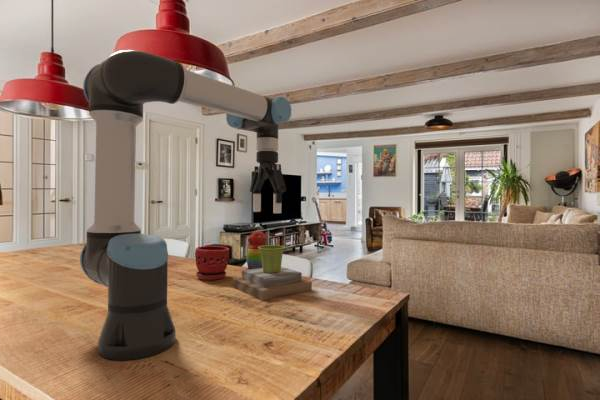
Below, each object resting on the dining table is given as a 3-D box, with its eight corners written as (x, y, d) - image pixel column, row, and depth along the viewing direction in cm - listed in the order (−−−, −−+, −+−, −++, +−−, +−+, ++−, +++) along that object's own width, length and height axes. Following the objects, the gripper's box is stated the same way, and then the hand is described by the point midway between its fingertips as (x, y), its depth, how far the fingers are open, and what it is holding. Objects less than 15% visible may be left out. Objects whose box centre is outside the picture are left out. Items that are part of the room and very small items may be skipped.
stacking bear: (251, 270, 152) (251, 229, 152) (273, 271, 149) (273, 230, 149) (240, 275, 142) (240, 231, 142) (262, 277, 139) (262, 232, 139)
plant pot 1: (211, 283, 129) (211, 250, 129) (188, 278, 136) (188, 247, 136) (236, 276, 140) (236, 246, 140) (213, 272, 147) (213, 244, 147)
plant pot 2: (254, 274, 118) (255, 248, 117) (261, 268, 127) (261, 244, 127) (282, 275, 116) (282, 249, 116) (287, 269, 126) (287, 245, 125)
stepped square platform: (311, 290, 120) (311, 272, 120) (261, 300, 108) (261, 281, 108) (279, 279, 136) (279, 263, 136) (232, 286, 124) (232, 270, 124)
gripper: (297, 148, 113) (296, 213, 113) (258, 155, 133) (258, 211, 133) (277, 146, 108) (277, 214, 109) (241, 154, 128) (240, 211, 129)
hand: (266, 212), depth 121 cm, fingers open, 13 cm apart
